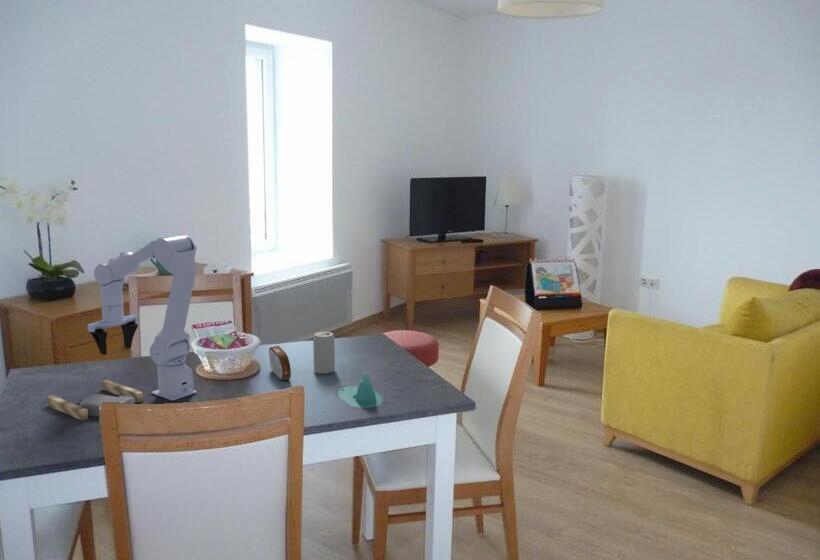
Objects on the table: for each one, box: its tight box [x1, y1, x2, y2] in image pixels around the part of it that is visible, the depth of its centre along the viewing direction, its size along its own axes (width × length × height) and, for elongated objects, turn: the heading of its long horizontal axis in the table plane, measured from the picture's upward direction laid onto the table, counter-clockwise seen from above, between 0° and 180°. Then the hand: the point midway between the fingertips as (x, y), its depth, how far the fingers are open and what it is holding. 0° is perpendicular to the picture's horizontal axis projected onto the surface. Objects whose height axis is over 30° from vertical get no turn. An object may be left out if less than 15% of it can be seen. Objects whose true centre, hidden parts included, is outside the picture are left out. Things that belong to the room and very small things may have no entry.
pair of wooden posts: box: [46, 379, 144, 422], centre depth 184 cm, size 17×17×2 cm
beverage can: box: [312, 331, 336, 375], centre depth 211 cm, size 6×6×12 cm
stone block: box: [78, 393, 136, 417], centre depth 180 cm, size 12×5×10 cm
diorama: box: [337, 372, 384, 409], centre depth 191 cm, size 12×20×9 cm, turn 27°
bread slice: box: [268, 345, 292, 381], centre depth 207 cm, size 15×3×8 cm, turn 26°
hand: (115, 350), depth 199 cm, fingers open, 7 cm apart
